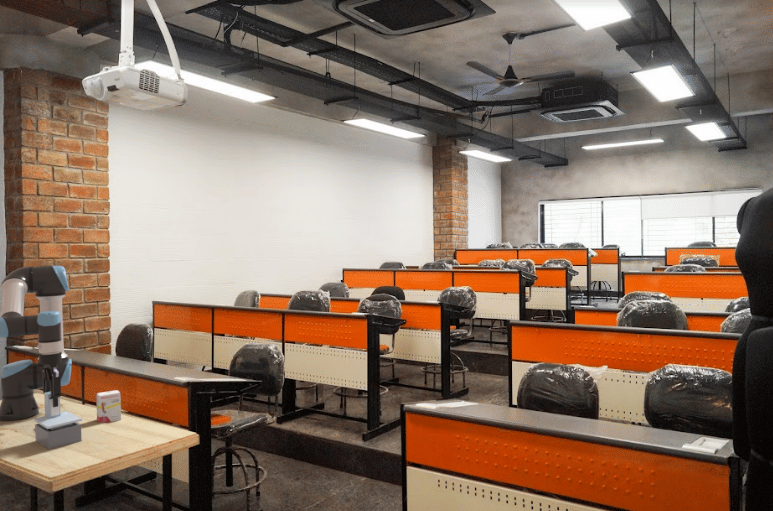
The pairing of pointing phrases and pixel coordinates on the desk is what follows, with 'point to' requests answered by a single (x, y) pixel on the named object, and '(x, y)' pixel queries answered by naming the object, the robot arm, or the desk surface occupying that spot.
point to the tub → (58, 435)
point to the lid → (57, 420)
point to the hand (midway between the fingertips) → (52, 413)
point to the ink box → (108, 406)
